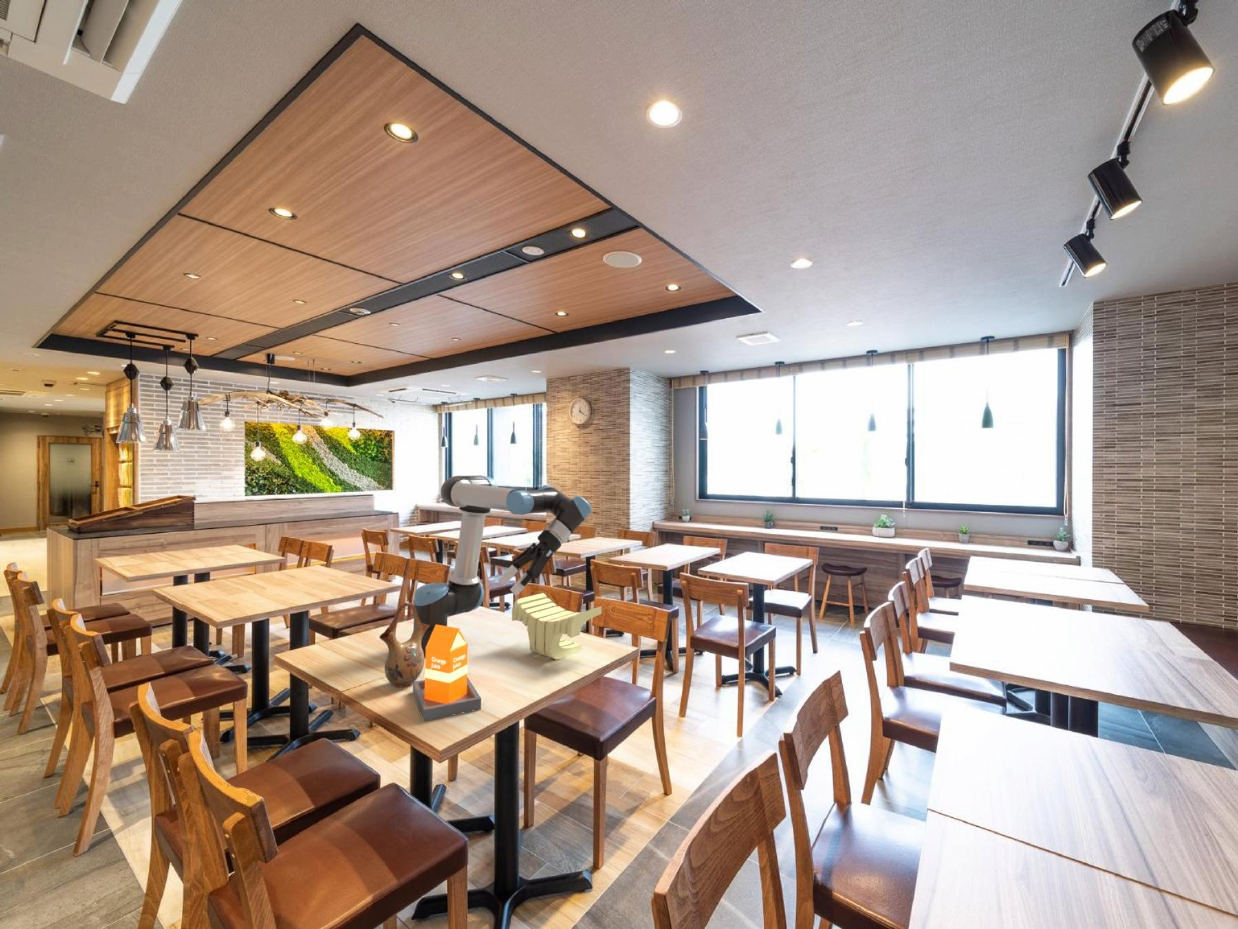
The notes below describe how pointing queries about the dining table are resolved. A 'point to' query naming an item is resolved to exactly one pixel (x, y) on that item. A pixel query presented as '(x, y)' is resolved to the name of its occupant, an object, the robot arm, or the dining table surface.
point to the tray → (439, 710)
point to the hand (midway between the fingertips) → (506, 587)
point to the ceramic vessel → (404, 652)
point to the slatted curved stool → (550, 625)
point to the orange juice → (446, 665)
